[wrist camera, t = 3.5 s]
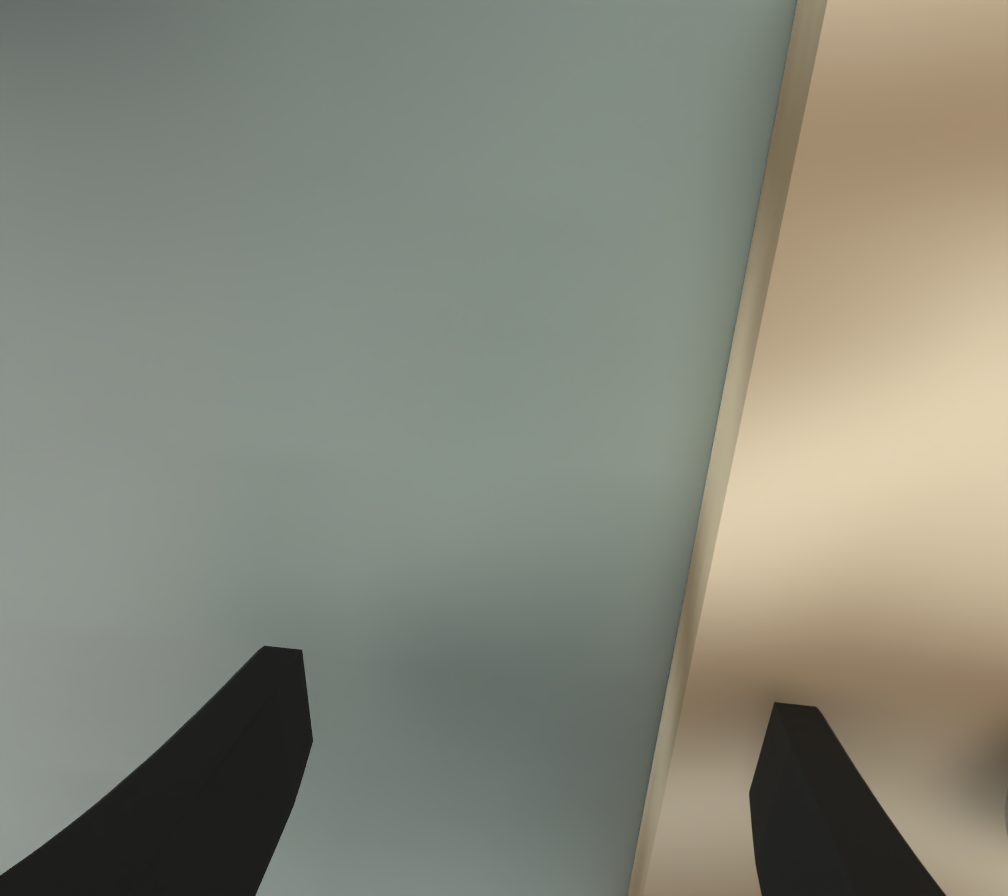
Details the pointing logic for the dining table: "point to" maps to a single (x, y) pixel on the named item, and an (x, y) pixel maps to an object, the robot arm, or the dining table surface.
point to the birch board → (859, 459)
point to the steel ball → (1006, 813)
